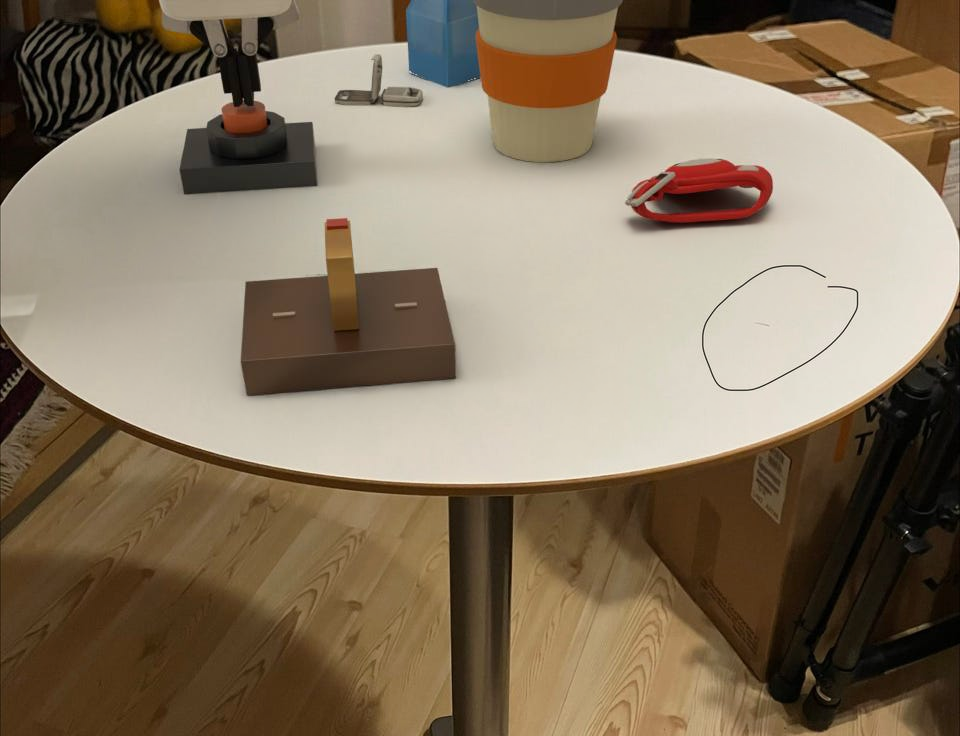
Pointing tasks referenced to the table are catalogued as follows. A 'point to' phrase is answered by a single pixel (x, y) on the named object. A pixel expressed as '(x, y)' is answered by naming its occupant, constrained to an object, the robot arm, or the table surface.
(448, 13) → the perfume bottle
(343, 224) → the thumb turn
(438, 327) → the plate
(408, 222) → the table surface
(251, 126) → the bell button
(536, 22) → the reusable coffee cup
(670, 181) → the tracker holder
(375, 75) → the strap clip
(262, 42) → the robot arm
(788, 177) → the table surface
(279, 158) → the dark grey button base
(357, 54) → the table surface
